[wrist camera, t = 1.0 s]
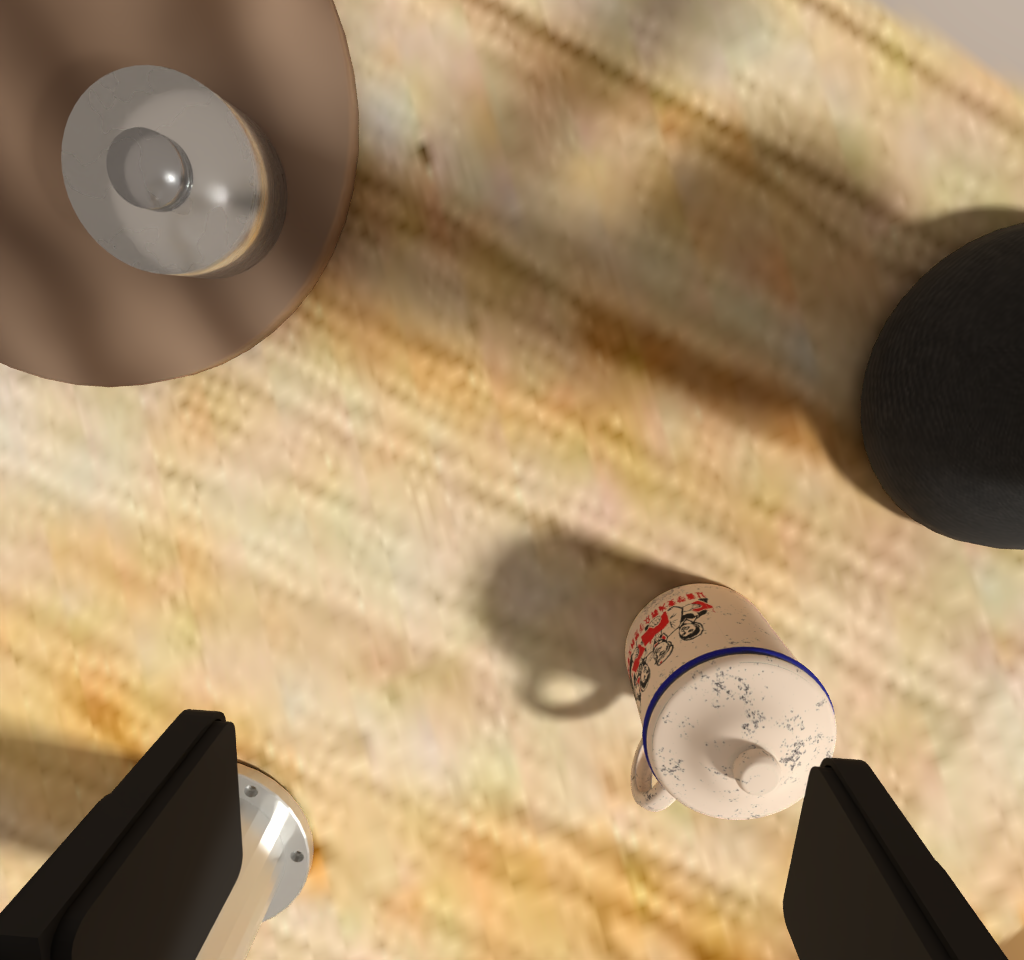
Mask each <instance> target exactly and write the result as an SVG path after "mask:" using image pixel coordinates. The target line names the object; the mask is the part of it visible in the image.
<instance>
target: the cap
mask: <svg viewBox="0 0 1024 960" xmlns="http://www.w3.org/2000/svg"><path fill="white" fill-rule="evenodd" d="M61 162H62V173H63V179H64V184H65V187H66V191H67V194H68V197H69V200H70V202H71V204H72V207H73V209H74V211H75V213H76V215H77V216H78V218H79V220H80V222H81V223H82V224H83V226H84V227H85V229H86V230H87V231H88V233H89V234H90V235H91V236H92V237H93V238H94V240H95V241H96V242H97V243H98V244H99V245H100V246H102V247H103V248H104V249H105V250H106V251H107V252H109V253H110V254H111V255H113V256H114V257H116V258H117V259H119V260H120V261H122V262H124V263H126V264H128V265H130V266H132V267H135V268H137V269H140V270H143V271H147V272H151V273H157V274H166V275H176V276H186V277H195V278H205V279H221V278H227V277H232V276H235V275H238V274H241V273H243V272H245V271H247V270H249V269H251V268H252V267H253V266H255V265H256V264H258V263H259V262H260V261H261V260H262V259H263V258H264V257H265V256H266V255H267V254H268V253H269V252H270V250H271V249H272V248H273V246H274V245H275V243H276V241H277V240H278V238H279V235H280V233H281V231H282V228H283V225H284V221H285V218H286V212H287V200H288V193H287V183H286V178H285V173H284V169H283V166H282V163H281V160H280V158H279V156H278V154H277V152H276V150H275V147H274V146H273V144H272V143H271V141H270V140H269V138H268V136H267V135H266V134H265V133H264V132H263V130H262V129H261V128H260V127H259V126H258V125H257V124H256V123H255V122H254V121H253V120H252V119H251V118H250V117H248V116H247V115H246V114H244V113H243V112H242V111H240V110H239V109H237V108H236V107H235V106H233V105H232V104H230V103H229V102H227V101H226V100H224V99H223V98H222V97H220V96H219V95H217V94H216V93H214V92H213V91H211V90H210V89H209V88H207V87H206V86H204V85H203V84H201V83H200V82H198V81H197V80H195V79H193V78H191V77H190V76H188V75H186V74H183V73H181V72H178V71H176V70H173V69H169V68H165V67H162V66H153V65H135V66H130V67H125V68H121V69H119V70H116V71H113V72H111V73H109V74H107V75H105V76H103V77H102V78H100V79H99V80H97V81H96V82H95V83H93V84H92V85H91V86H90V87H89V88H88V89H87V90H86V91H85V92H84V93H83V94H82V95H81V97H80V98H79V100H78V101H77V103H76V104H75V106H74V108H73V110H72V112H71V114H70V116H69V118H68V121H67V124H66V127H65V130H64V135H63V140H62V151H61Z"/></svg>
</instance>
